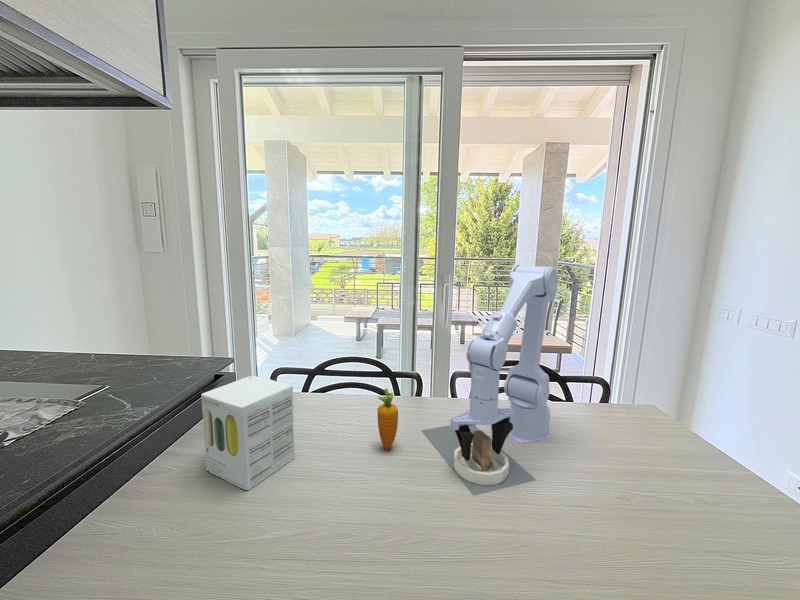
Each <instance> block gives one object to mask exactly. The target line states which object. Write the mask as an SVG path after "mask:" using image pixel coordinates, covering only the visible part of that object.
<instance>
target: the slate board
mask: <svg viewBox="0 0 800 600" xmlns="http://www.w3.org/2000/svg"><path fill="white" fill-rule="evenodd" d="M469 429H470V431H471V432H472V433H473V431H479V430H481V429H480V428H478V427H477V425H473V426H469ZM420 431H421V432H422V434H423V435H424V436H425V437H426V439H427V440H428V441H429V442H430V444H432V446H433V447H434V449H435V450H436V451H437V452H438V454H439V455H440V456H441V457H442V459H443V460H444V461H445V463H447V464H448V466H449V467H450V469H451V470H452V471H453V472H454V474H455V475H456V476H457V477H458V479H459V480H460V481H461V483H463V485H464V486H465V487H466V489H467V490H468V491H469V492H470V494H471V495H472V497H473V496H477V495H482V494H485V493H489V492H493V491H498V490H501V489H505V488H511V487H515V486H517V485H522V484H526V483H529V482H534V481H537V479H536V478H535V477H534V476H533V475H532V474H531V473H530V472H528V471H527V470H526V469H525V468H523V466H521V464H519V463H518V462H517V461H516V460H515V459H514V458H513V457H511V455H509V454H508V453H507V452H506V451H505V450H503V448H502V449H501V452H503V453H504V454H505V455H506V456H507V457H508V462H509V474H508V475H507V478H506V479H505V480H504V481H503V482H502V483H500V484H497V485H492V486H483V485H477V484H473V483H471V482H468V481H466V480H464V479H463V478H461V477H460V476H459V475H458V474H457V473H456V471H455V469H454V452H455V450H456V449H457V448H458V447H460V443H459V440H458V437H457V435H456V433H455V430H454V429H453V428H452V427H451V426H450V424H449V425H444V426H439V427H438V426H437V427H432V428H426V429H421V430H420ZM472 443H473V440H472ZM491 446H492V439H491Z"/></svg>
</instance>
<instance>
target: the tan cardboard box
mask: <svg viewBox="0 0 800 600" xmlns="http://www.w3.org/2000/svg"><path fill="white" fill-rule="evenodd" d="M473 434H474V437H473V444H472V458H473V459H474V460H475V461H476V463H477V464H478V465H479V466H480V467H481V472H483V471H488V470H490V457H491V440H492V438H491V437H489V436H488V435H487V434H486V433H485V432H484V431H483V430H482V429H480V430H479V431H473Z"/></svg>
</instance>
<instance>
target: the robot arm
mask: <svg viewBox="0 0 800 600" xmlns="http://www.w3.org/2000/svg"><path fill="white" fill-rule="evenodd" d="M509 272H510V273H509V278H508V282H509V283H508V284H509V290H508V292H507V294H506V296H505V299H504V301H503V302H502V303H503V304H502V305H501V308H500V310H498V311H497V310H496V311H494V312H493V313H492V314H491V316H490V317H489V320H488V321H487V323H486V325H485V326H484V328H483V330H482V332H481V334H480V335H479V337H477V338H475V339H472V340H471V341H470V342H469V345H468V347H467V351H466V353H465V355H466V356H465V357H466V360H467V362H468V370H469V372H470V373H471V374H470V395H469V396H470V397H469V398H470V399H469V410H467V411H465V412H462V413H461V414H459V415H455V416H452V417H450V424H449V425H450V426H451V427H452V428H453V429H454V430H455V433H456V435H457V437H458V440H459V443H460V447H461V453H462V456H463V458H464V459H465V460H466V461H468V460H470V452H471V443H472V440H473V437H474V434H473V433H472V432H471V431H470V429H469V426H473V425H475V426H477V425H479V426H482V425H483V426H491V440H492V449H493V450H494V451H495V452H496V453H497V454H500V452H501V449H502V450H503V446H504V444H505V442H506V439H507V437H508V436H511V438H513V439H514V440H515V441H517V442H518V443H519V444H526V443H527V444H528V443H532V442H535V441H540V440H546V439H551V438H552V437H551V435H549V432H550V418H551V414H550V413H551V412H550V411H551V410H550V407H549V406H548V404H547V402H548V400H549V396H550V376H549V375H548V374H547V373H546V372H545V371H544V370H543V369H542V368H541V367H540V363H541V356H542V355H541V353H542V347H543V342H544V341H543V340H544V333H545V326H546V319H547V312H548V305H549V303H550V302H553V301H555V299H556V295H557V291H558V290H557V289H558V281H559V276H558V272H557V269H556V268H555V266H541V265H540V266H539V265H538V266H537V265H520V264H516V265H514V266H513V267H512V269H511V270H510V271H509ZM525 304H526V306H525V307H526V309H525V315H524V322H523V324H524V325H523V328H522V329H523V331H522V338H521V345H520V352H519V359H518V364H515V365H514V366H512V367H510V368H509V369H508V371H507V376H506V379H505V381H504V385H503V386H504V387H503V390H504V393H505V395H506V396H507V397H508V401H509V402H510V408H508V407H507V408H499V407H498V406H499V405H498V404H499V391H500V390H499V389H500V387H499V386H500V372H501V369H502V368H503V366H504V364H505V362H506V359H507V354H508V350H509V345H508V344H509V342H510V340H511V338H512V336H513V334H514V332H515V330H516V329H517V325H518V322H517V319H516V318H517V316H518V315H519V313H520V311H521V310H522V309H523V307H524V305H525Z"/></svg>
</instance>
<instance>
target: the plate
mask: <svg viewBox="0 0 800 600" xmlns="http://www.w3.org/2000/svg"><path fill="white" fill-rule="evenodd" d="M472 444H473V443H471V452H470V460H468V461H466V460H465V459H464V458H463V456H462V453H461V447H458V448H457V449H456V450H455V452H454V469H455V471H456V473H457V474H458V475H459V476H460V477H461V478H463V479H464V480H466V481H468V482H471V483H473V484H477V485H483V486H492V485H497V484H500V483H502V482H503V481H504V480H505V479H506V478H507V475H508V474H509V462H508V457H507V456H506V455H505V454H504V453H503V452H500V454H497V453H496V452H495V451H494V450H493V449H492V446H491V457H490V470H488V471H483V472H481V467H480V466H479V465H478V464H477V463H476V461H475V460H474V459H473V458H472ZM456 473H455V474H456Z"/></svg>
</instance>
